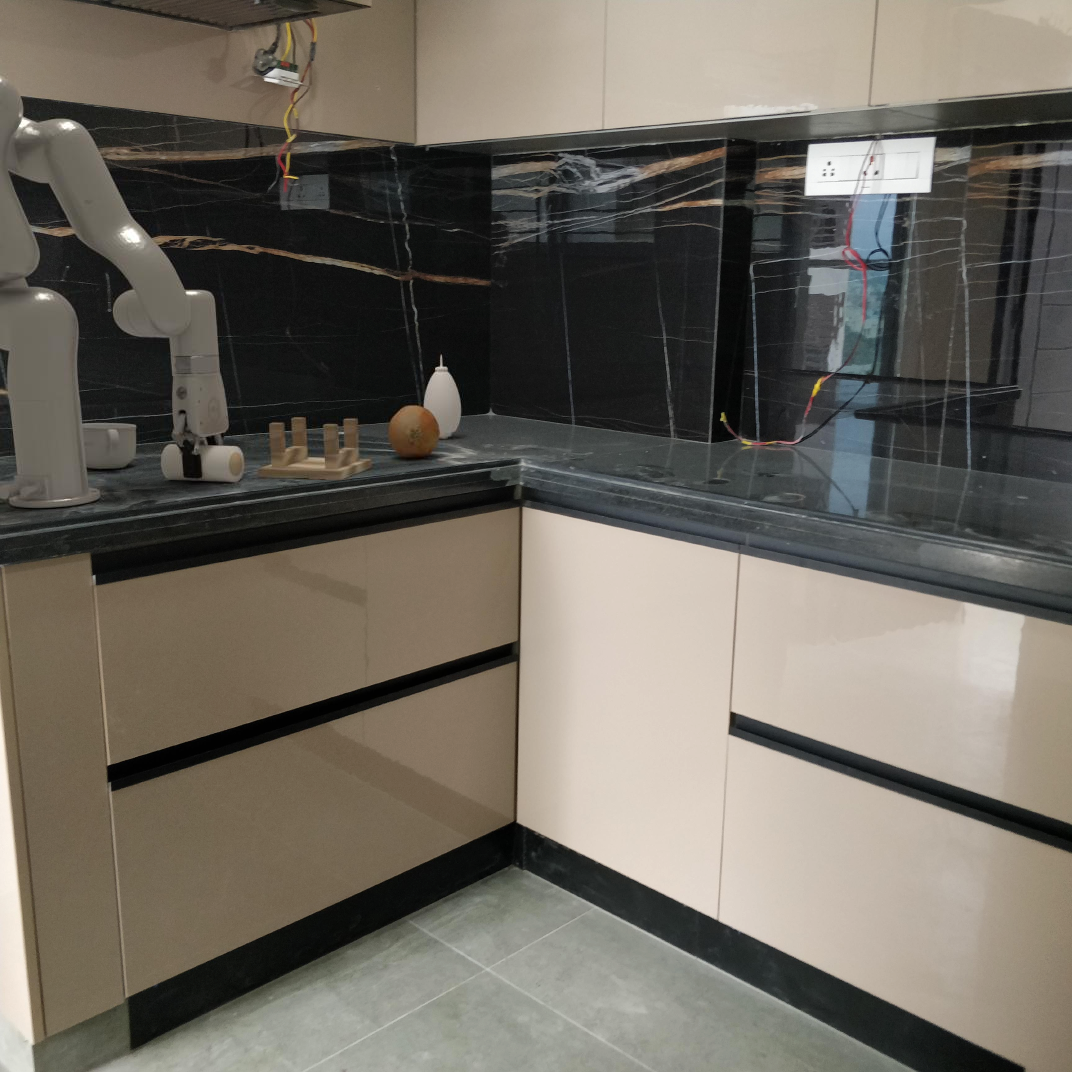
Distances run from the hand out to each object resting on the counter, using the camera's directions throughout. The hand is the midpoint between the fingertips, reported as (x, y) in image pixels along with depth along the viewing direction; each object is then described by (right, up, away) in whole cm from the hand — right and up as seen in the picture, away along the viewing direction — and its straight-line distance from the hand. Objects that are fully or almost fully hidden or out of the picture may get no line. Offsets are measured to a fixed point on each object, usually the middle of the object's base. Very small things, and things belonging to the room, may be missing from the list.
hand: (203, 473), depth 179 cm
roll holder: (+17, +1, +8) cm, 19 cm away
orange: (+33, +4, +25) cm, 41 cm away
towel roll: (0, +2, 0) cm, 2 cm away
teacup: (-22, +1, +13) cm, 25 cm away
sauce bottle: (+36, +11, +53) cm, 65 cm away
